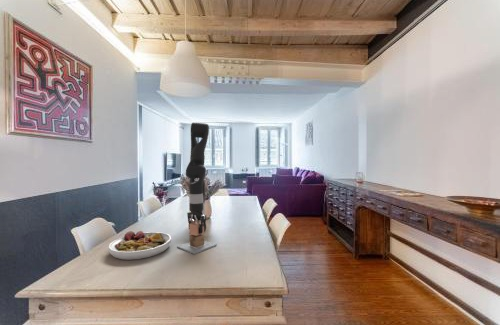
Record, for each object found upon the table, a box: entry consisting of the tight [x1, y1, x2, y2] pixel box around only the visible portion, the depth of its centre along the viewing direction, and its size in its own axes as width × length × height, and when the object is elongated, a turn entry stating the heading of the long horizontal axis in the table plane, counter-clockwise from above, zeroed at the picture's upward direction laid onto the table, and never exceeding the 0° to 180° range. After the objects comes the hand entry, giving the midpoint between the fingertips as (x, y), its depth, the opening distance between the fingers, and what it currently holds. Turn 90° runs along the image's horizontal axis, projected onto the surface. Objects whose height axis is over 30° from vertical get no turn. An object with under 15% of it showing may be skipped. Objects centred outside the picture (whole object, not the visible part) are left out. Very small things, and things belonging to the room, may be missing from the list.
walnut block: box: [189, 233, 205, 248], centre depth 131 cm, size 6×6×6 cm
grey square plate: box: [176, 239, 217, 255], centre depth 131 cm, size 15×15×1 cm
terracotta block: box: [188, 222, 205, 236], centre depth 131 cm, size 6×6×6 cm
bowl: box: [108, 230, 172, 261], centre depth 128 cm, size 30×30×8 cm
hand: (196, 232), depth 131 cm, fingers closed on terracotta block, 5 cm apart
